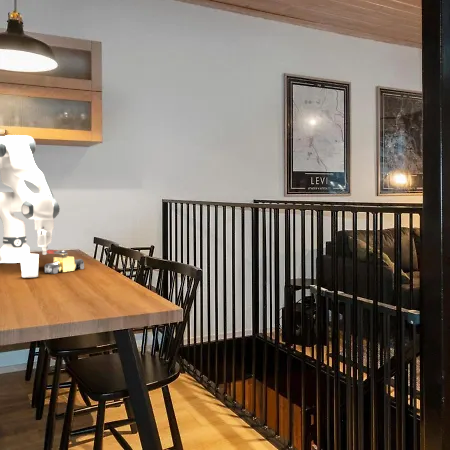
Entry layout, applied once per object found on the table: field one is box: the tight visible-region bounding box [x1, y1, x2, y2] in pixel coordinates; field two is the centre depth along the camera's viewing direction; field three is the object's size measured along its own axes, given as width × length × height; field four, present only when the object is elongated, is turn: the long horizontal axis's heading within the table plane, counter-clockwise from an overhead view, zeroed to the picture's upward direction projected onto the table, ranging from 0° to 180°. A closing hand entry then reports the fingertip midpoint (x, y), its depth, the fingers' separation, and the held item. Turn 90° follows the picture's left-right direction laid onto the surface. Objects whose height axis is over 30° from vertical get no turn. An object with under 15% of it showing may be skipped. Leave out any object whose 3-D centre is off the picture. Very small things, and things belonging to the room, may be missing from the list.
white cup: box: [20, 253, 40, 279], centre depth 215 cm, size 8×8×10 cm
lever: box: [47, 249, 68, 256], centre depth 234 cm, size 14×3×2 cm, turn 58°
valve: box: [44, 255, 85, 275], centre depth 232 cm, size 20×7×8 cm, turn 148°
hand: (45, 254), depth 232 cm, fingers closed
